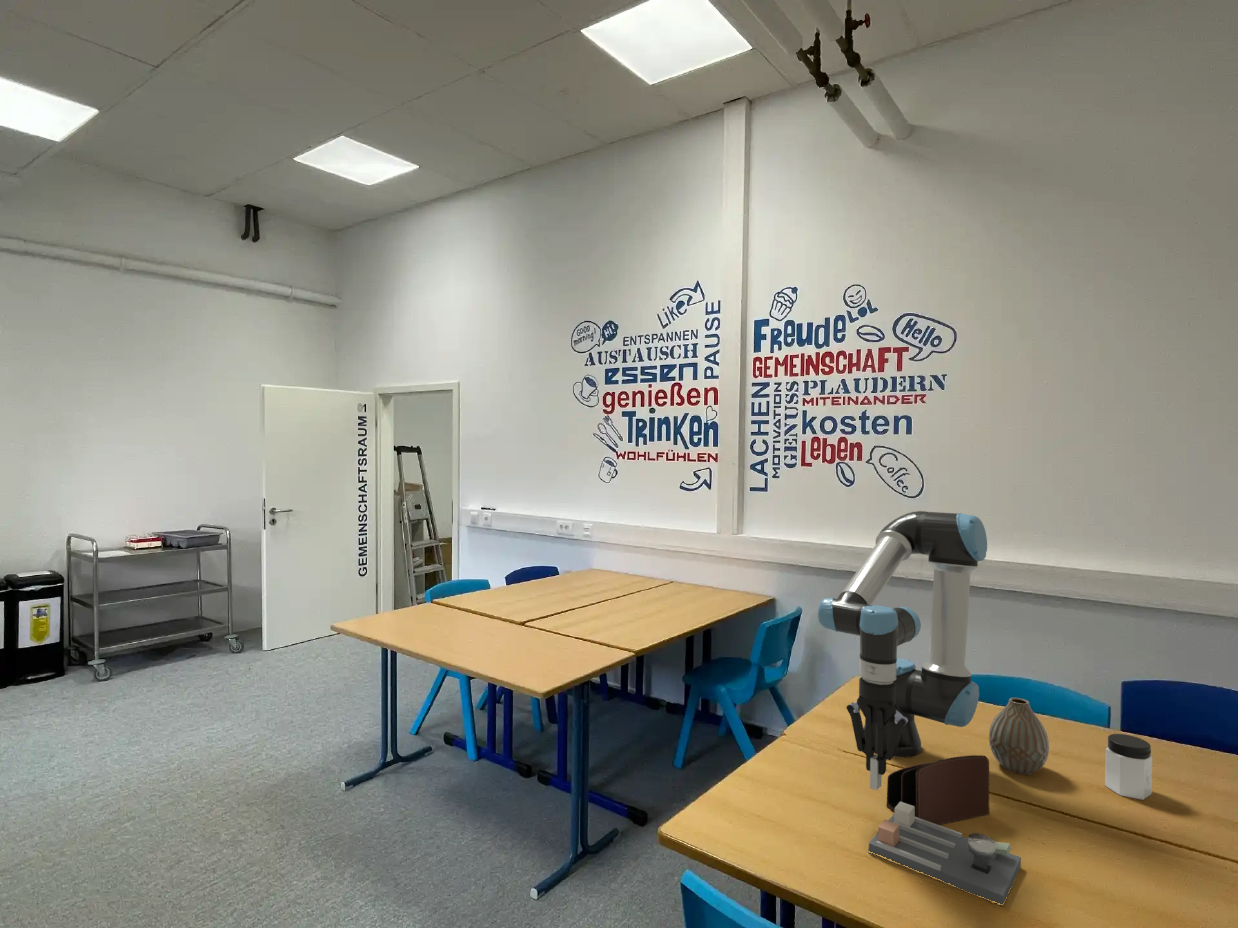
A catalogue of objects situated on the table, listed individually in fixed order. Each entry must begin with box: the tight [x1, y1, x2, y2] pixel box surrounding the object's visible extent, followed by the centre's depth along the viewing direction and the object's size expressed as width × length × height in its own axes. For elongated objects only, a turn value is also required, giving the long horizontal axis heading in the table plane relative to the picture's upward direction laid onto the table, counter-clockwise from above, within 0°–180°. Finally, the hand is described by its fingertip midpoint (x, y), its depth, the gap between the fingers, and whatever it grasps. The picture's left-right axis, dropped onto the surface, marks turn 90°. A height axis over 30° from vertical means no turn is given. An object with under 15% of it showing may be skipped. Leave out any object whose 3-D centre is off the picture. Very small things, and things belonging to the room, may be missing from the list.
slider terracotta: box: [877, 819, 900, 847], centre depth 135 cm, size 3×4×3 cm
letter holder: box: [885, 754, 990, 826], centre depth 151 cm, size 10×20×14 cm, turn 108°
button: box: [967, 832, 996, 869], centre depth 128 cm, size 5×5×5 cm
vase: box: [988, 697, 1050, 776], centre depth 171 cm, size 13×13×18 cm
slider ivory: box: [893, 802, 915, 827], centre depth 142 cm, size 3×4×3 cm
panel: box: [868, 813, 1022, 904], centre depth 133 cm, size 24×15×4 cm, turn 49°
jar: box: [1104, 733, 1153, 801], centre depth 160 cm, size 9×8×12 cm
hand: (875, 786), depth 146 cm, fingers closed
